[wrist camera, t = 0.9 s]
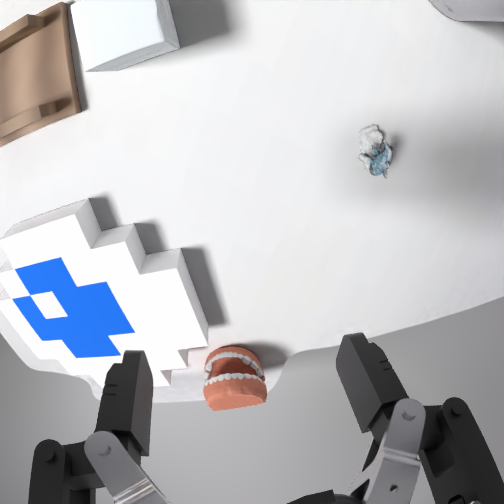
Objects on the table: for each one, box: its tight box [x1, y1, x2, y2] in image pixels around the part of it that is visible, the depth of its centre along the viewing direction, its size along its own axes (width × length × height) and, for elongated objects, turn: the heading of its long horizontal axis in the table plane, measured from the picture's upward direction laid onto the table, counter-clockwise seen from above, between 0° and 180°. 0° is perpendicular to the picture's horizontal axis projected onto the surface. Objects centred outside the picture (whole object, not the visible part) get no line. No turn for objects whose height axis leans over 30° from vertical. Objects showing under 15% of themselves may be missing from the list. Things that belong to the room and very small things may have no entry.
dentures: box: [203, 346, 267, 411], centre depth 39 cm, size 9×7×8 cm
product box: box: [70, 0, 180, 72], centre depth 16 cm, size 6×6×7 cm
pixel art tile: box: [0, 198, 208, 388], centre depth 34 cm, size 28×4×28 cm
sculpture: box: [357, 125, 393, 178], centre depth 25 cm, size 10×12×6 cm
